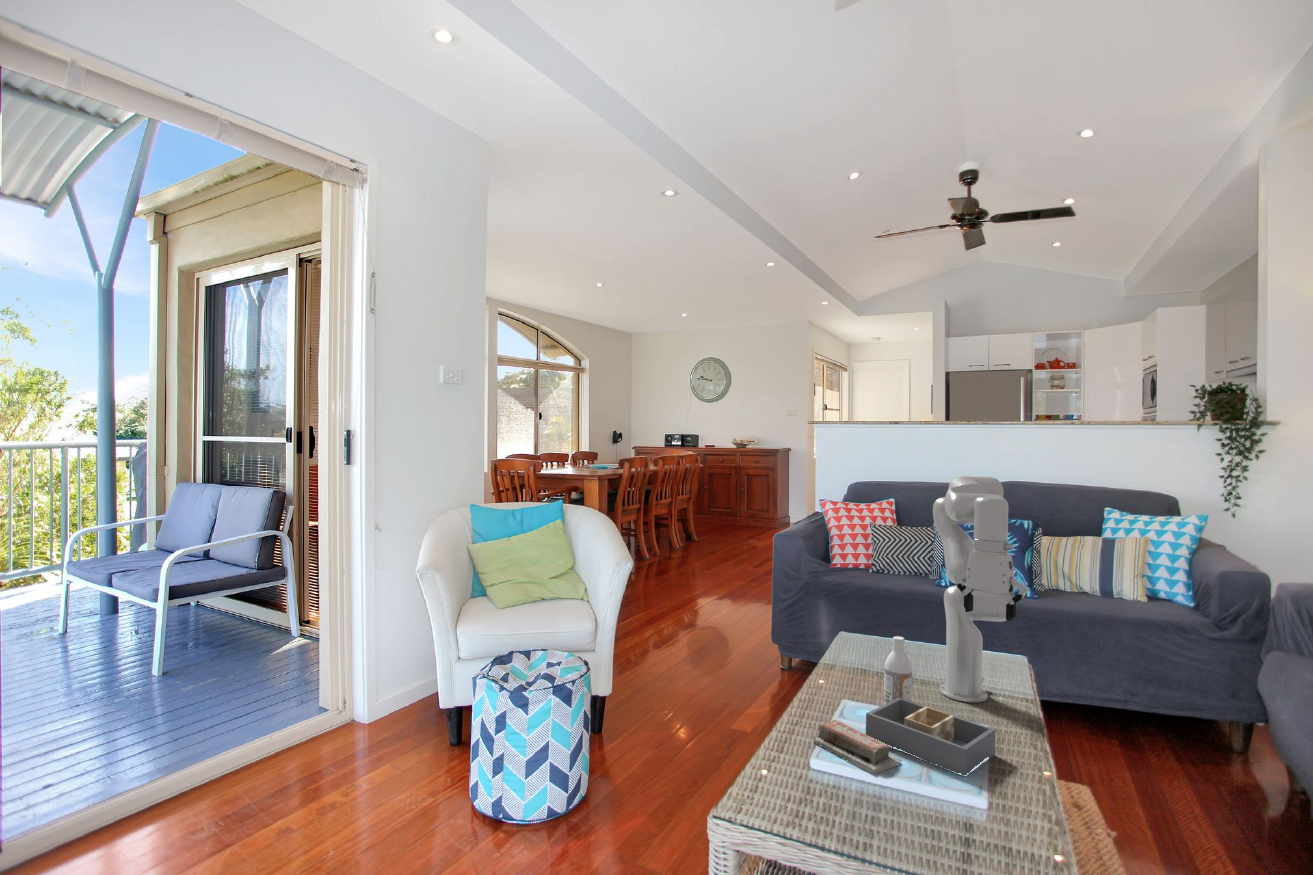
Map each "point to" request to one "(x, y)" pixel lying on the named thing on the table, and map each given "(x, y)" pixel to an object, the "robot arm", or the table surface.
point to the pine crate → (932, 723)
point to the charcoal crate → (931, 737)
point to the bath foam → (897, 673)
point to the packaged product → (855, 747)
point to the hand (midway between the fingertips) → (989, 615)
